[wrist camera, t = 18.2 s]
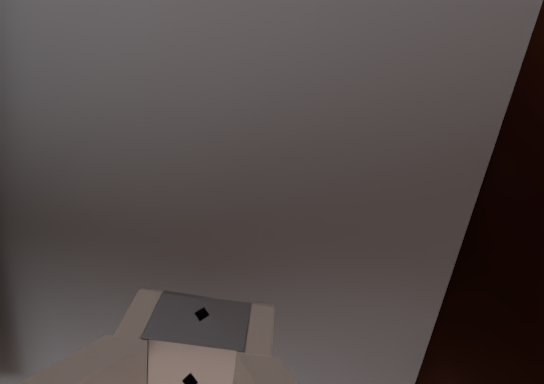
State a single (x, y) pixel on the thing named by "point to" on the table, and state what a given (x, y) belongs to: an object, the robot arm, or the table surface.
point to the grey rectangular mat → (247, 167)
